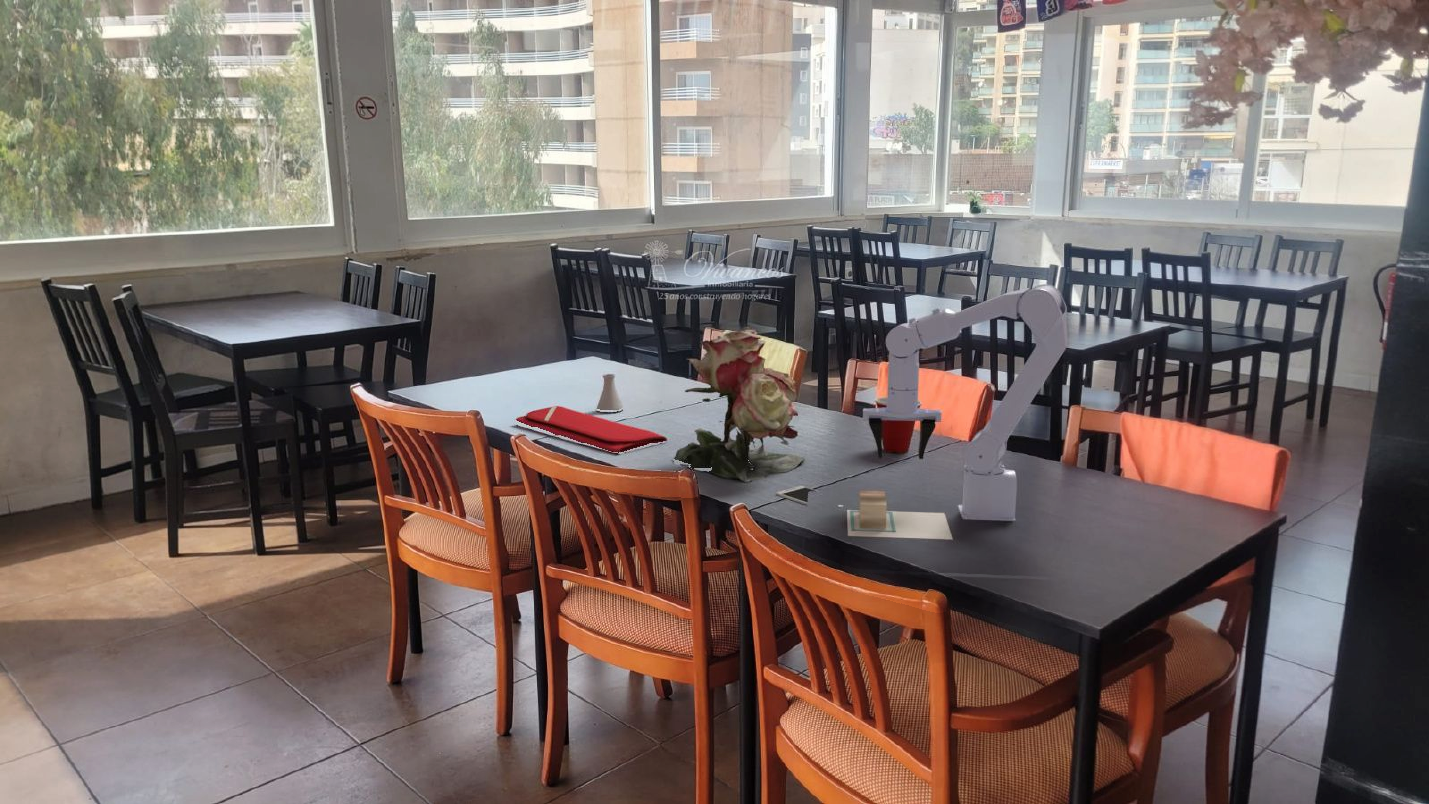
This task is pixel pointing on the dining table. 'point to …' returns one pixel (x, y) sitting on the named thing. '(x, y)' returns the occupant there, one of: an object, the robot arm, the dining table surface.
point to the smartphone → (797, 494)
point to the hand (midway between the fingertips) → (900, 457)
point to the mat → (903, 525)
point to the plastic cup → (895, 431)
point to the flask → (609, 395)
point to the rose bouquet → (743, 409)
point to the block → (872, 509)
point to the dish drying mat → (590, 429)
